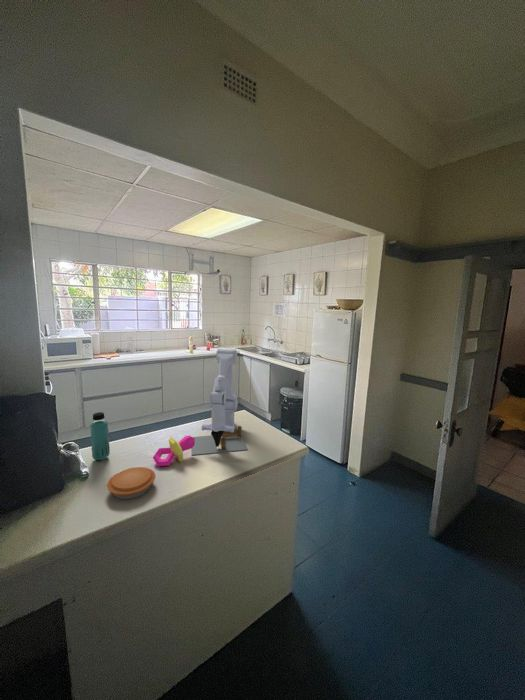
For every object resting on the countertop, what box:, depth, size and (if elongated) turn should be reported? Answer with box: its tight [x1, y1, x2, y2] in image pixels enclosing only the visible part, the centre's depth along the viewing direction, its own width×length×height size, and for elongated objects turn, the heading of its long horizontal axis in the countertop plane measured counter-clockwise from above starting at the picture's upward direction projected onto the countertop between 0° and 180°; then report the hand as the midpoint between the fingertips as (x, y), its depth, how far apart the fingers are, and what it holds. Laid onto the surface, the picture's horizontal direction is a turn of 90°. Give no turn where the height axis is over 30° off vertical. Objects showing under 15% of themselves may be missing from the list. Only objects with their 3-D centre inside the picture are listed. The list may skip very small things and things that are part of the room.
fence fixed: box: [222, 425, 242, 437], centre depth 139 cm, size 2×13×5 cm, turn 105°
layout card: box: [190, 433, 249, 456], centre depth 133 cm, size 17×25×1 cm
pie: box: [106, 466, 156, 500], centre depth 98 cm, size 16×16×5 cm
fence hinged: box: [220, 437, 226, 449], centre depth 131 cm, size 10×2×5 cm, turn 24°
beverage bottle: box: [89, 411, 111, 461], centre depth 115 cm, size 6×7×20 cm
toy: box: [152, 435, 195, 467], centre depth 118 cm, size 10×18×10 cm, turn 128°
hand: (217, 445), depth 128 cm, fingers closed
